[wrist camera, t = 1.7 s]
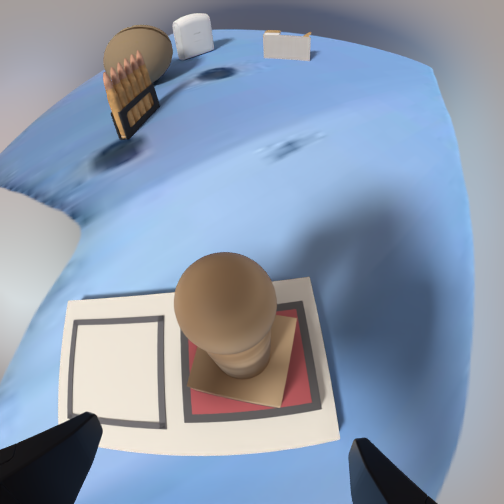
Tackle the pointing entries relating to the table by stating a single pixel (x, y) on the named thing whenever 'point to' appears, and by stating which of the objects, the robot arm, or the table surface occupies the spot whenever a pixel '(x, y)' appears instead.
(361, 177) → the table surface
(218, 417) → the ink pad
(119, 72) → the ammunition clip
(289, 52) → the model
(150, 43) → the brown grooved ball
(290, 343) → the stamp
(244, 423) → the stamping board
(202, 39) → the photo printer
